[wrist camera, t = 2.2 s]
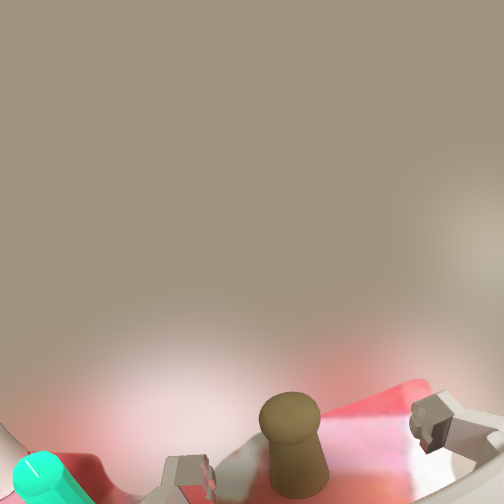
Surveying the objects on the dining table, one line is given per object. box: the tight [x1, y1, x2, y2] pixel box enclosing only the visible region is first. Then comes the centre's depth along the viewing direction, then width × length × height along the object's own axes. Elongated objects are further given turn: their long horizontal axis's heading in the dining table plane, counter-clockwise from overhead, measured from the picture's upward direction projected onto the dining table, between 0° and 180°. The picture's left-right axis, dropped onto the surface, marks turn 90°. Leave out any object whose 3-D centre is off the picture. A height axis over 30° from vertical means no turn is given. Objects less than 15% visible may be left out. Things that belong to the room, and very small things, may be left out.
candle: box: [13, 450, 95, 504], centre depth 18 cm, size 6×6×12 cm
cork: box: [259, 392, 329, 499], centre depth 25 cm, size 6×6×11 cm
